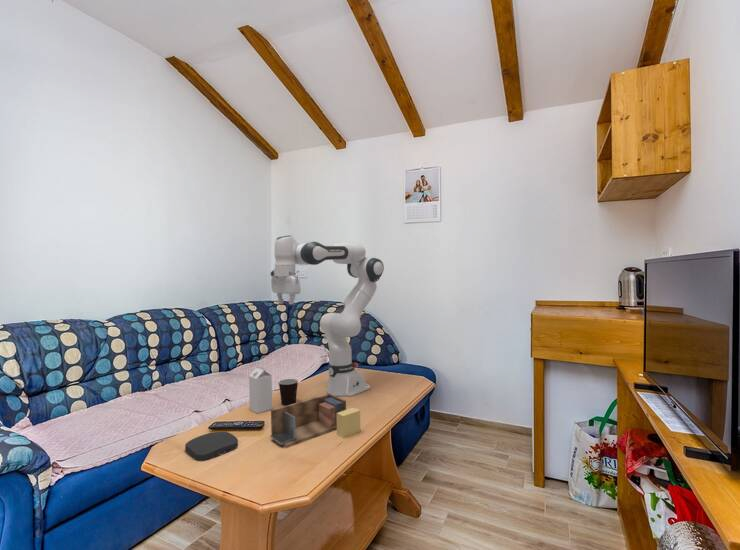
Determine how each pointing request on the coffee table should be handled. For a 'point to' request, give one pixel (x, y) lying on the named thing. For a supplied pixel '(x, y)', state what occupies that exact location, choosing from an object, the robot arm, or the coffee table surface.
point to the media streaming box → (211, 445)
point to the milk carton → (260, 390)
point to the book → (348, 422)
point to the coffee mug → (288, 391)
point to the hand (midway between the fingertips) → (286, 303)
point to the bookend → (286, 430)
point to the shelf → (309, 417)
